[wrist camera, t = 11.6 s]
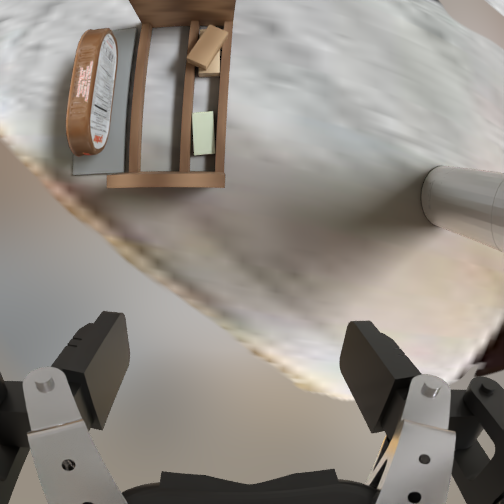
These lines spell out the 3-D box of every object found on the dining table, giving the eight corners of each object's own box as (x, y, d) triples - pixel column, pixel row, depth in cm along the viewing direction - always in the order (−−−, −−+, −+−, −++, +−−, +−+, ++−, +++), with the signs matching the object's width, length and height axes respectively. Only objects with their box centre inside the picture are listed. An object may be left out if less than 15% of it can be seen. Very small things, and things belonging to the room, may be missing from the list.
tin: (103, 43, 28) (78, 19, 20) (126, 41, 29) (105, 14, 21) (90, 156, 32) (58, 156, 24) (113, 156, 33) (85, 155, 25)
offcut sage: (213, 113, 34) (213, 111, 32) (215, 153, 35) (215, 153, 34) (193, 114, 33) (192, 112, 32) (195, 155, 35) (194, 155, 34)
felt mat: (137, 29, 29) (136, 27, 28) (124, 172, 34) (123, 172, 33) (88, 36, 28) (86, 35, 27) (74, 174, 33) (72, 175, 33)
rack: (233, 18, 30) (237, -17, 21) (223, 182, 36) (224, 187, 27) (146, 21, 29) (129, -12, 20) (132, 181, 34) (106, 188, 26)
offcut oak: (227, 38, 29) (228, 32, 28) (206, 70, 30) (205, 66, 29) (210, 30, 29) (209, 24, 27) (187, 62, 30) (186, 57, 28)
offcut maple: (220, 35, 31) (220, 28, 29) (219, 77, 32) (219, 72, 31) (200, 35, 30) (199, 29, 29) (199, 77, 32) (198, 73, 30)
